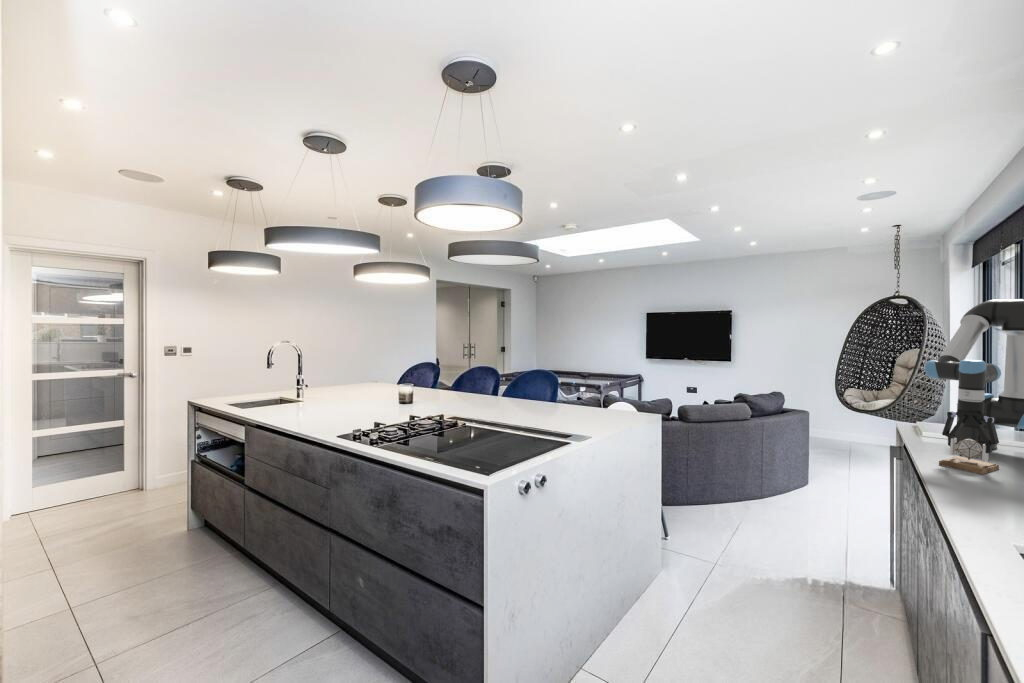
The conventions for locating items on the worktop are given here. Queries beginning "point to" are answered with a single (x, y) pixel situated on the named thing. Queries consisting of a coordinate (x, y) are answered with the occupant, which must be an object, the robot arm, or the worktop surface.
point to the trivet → (969, 465)
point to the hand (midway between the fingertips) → (968, 457)
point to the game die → (969, 448)
